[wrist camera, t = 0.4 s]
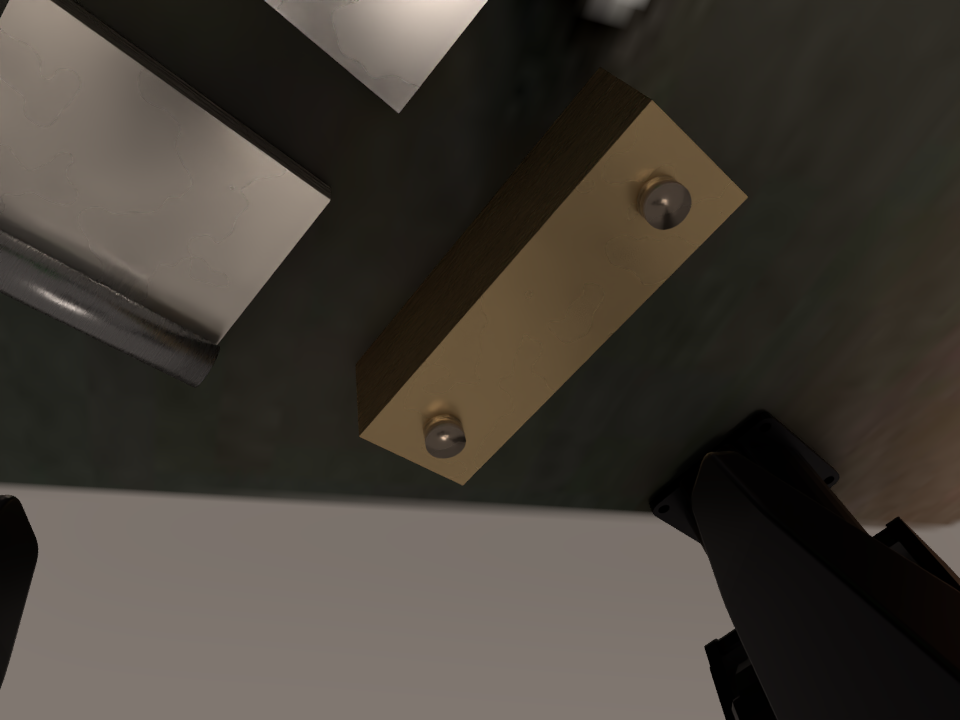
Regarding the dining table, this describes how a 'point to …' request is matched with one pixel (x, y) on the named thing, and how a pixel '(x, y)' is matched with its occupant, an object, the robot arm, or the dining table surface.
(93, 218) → the chain end
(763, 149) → the dining table surface
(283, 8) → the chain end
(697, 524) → the robot arm
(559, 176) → the bar
